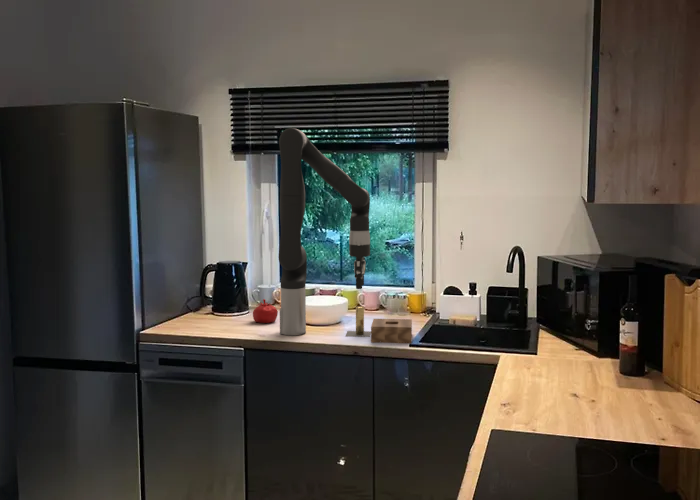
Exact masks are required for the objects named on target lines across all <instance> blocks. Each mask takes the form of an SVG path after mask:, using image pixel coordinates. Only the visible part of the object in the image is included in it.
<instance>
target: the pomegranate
mask: <svg viewBox="0 0 700 500" xmlns="http://www.w3.org/2000/svg"><path fill="white" fill-rule="evenodd" d="M262 301H263V302H258V303H257V306H256V307H255V308H254V310H253V311H252V318H253V321H254V322H255V323H259V324H270V323H275V321H276V320H277V318H278V311H279V310H278V309H277V308H276V306H274V304H275V303H273V302H272V303H271V302H270V303H268V302H266V299H265V298H264V299H262Z"/></svg>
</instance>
